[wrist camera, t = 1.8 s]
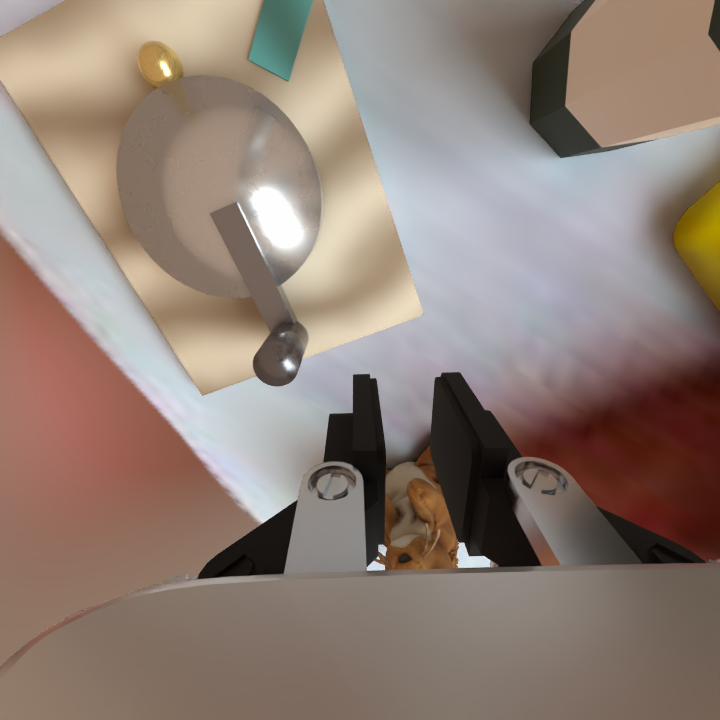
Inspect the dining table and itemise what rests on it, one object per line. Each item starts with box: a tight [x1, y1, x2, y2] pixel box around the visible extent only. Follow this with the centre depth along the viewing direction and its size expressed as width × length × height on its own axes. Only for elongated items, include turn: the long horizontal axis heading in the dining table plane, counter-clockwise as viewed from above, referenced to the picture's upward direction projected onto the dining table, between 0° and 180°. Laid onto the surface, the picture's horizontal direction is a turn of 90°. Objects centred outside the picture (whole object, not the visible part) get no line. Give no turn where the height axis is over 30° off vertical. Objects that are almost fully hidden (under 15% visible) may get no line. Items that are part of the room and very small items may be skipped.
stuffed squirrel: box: [374, 445, 459, 570], centre depth 29 cm, size 10×14×13 cm
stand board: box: [0, 0, 424, 396], centre depth 24 cm, size 24×19×2 cm
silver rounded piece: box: [116, 41, 324, 386], centre depth 20 cm, size 19×12×7 cm, turn 21°
